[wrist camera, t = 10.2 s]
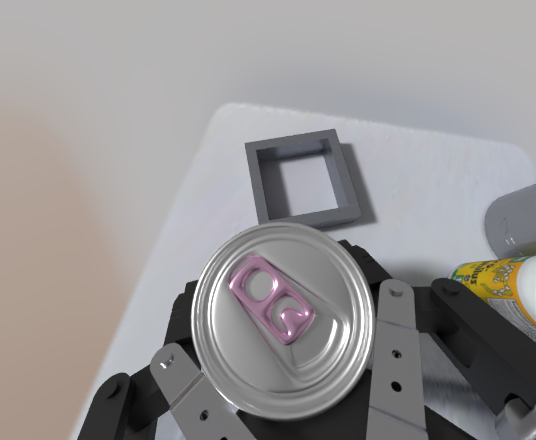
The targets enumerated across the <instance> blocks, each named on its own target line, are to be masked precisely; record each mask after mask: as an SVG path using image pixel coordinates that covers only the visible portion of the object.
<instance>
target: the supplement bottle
mask: <svg viewBox="0 0 536 440" xmlns="http://www.w3.org/2000/svg"><path fill="white" fill-rule="evenodd" d="M448 279H453V280H456V281H458V282H460V283H462V284H464V285H465V286H466V287H467V288H469V289H470V290H471V291H472V292H474V293H475V294H476V295H477V296H479V297H480V298H481V299H482V300H484V301H485V302H486V303H487V304H488V305H490V306H491V307H492V308H493V309H495V310H496V311H497V312H498V313H500V314H501V315H502V316H503V317H505V318H506V319H507V320H508V321H509V322H511V323H512V324H513V325H514V326H516V327H517V328H518V329H519V330H521V331H525V332H531V333H536V255H535V256H526V257H518V258H509V259H500V260H491V261H482V262H472V263H464V264H461V265H458V266H456V267H455V268H454V269H453V270H452V271H451V272H450V273H449V275H448Z"/></svg>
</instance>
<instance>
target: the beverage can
mask: <svg viewBox="0 0 536 440" xmlns="http://www.w3.org/2000/svg"><path fill="white" fill-rule="evenodd" d="M375 329H376V318H375V308H374V302H373V298H372V294H371V291H370V288H369V285H368V283H367V280H366V278H365V276H364V274H363V272H362V271H361V269H360V267H359V266H358V264H357V263H356V261H355V260H354V259H353V257H352V256H351V255H350V254H349V253H348V252H347V250H346V249H345V248H343V247H342V246H341V245H340V244H339V243H338V242H337V241H335V240H334V239H333V238H331V237H330V236H328V235H326V234H325V233H323V232H321V231H319V230H317V229H314V228H312V227H309V226H306V225H302V224H297V223H290V222H272V223H266V224H261V225H257V226H254V227H251V228H249V229H247V230H244V231H242V232H240V233H239V234H237V235H235V236H234V237H232V238H231V239H230V240H228V241H227V242H226V243H225V244H224V245H222V246H221V247H220V248H219V249H218V250H217V251H216V253H215V254H214V255H213V256H212V257H211V259H210V260H209V262H208V263H207V265H206V266H205V268H204V270H203V272H202V274H201V276H200V278H199V280H198V283H197V286H196V289H195V292H194V296H193V301H192V309H191V331H192V338H193V344H194V348H195V351H196V354H197V357H198V360H199V362H200V364H201V367H202V369H203V370H204V372H205V374H206V376H207V377H208V379H209V381H210V382H211V383H212V385H213V386H214V387H215V388H216V389H217V391H218V392H219V393H220V394H221V395H222V396H223V397H224V398H225V399H227V400H228V401H229V402H230V403H232V404H233V405H234V406H236V407H237V408H239V409H241V410H242V411H244V412H246V413H248V414H251V415H253V416H255V417H259V418H262V419H266V420H270V421H278V422H291V421H299V420H304V419H308V418H312V417H314V416H317V415H319V414H322V413H324V412H326V411H327V410H329V409H331V408H332V407H334V406H335V405H337V404H338V403H339V402H340V401H342V400H343V399H344V398H345V397H346V396H347V395H348V394H349V393H350V392H351V391H352V389H353V388H354V387H355V386H356V384H357V383H358V381H359V380H360V378H361V377H362V375H363V373H364V371H365V369H366V367H367V365H368V362H369V359H370V357H371V353H372V350H373V345H374V339H375Z"/></svg>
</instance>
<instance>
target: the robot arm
mask: <svg viewBox="0 0 536 440" xmlns="http://www.w3.org/2000/svg"><path fill="white" fill-rule="evenodd" d="M485 232H486V236H487V239H488V242H489V244H490V246H491V248H492V250H493V251H494V253H495V254H496V255H497V257H498V258H499V259H509V258H518V257H526V256H535V255H536V184H533V185H531V186H528V187H526V188H523V189H520V190H518V191H515V192H512V193H510V194H507V195H505V196H502V197H500V198H498V199H497V200H496V201H494V202H493V203H492V204H491V206H490V207H489V208H488V211H487V213H486V216H485ZM337 242H338V243H339V244H340V245H341V246H342V247H343V248H345V249H346V250H347V252H348V253H349V254H350V255H351V256H352V257H353V259H354V260H355V261H356V263H357V264H358V266H359V267H360V269H361V271H362V272H363V274H364V276H365V278H366V280H367V283H368V285H369V288H370V291H371V294H372V298H373V302H374V308H375V317H376V318H377V323H376V335H375V346H374V357H373V368H372V371H371V370H369V369H367V368H366V369H365V371H364V373H363V375H362V377H361V378H360V380H359V381H358V383H357V384H356V386H355V387H354V388H353V389H352V391H351V392H350V393H349V394H348V395H347V396H346V397H345V398H344V399H343V400H342V401H340V402H339V403H338V404H337V405H335V406H334V407H332V408H331V409H329V410H327V411H326V412H324V413H322V414H319V415H317V416H314V417H312V418H308V419H304V420H299V421H291V422H278V421H270V420H266V419H262V418H259V417H255V416H253V415H251V414H248V413H246V412H244V411H242V410H241V409H238V411H237V412H236V413H235V412H234V411H233V410H232V408H231V407H230V406H229V405H228V403H227V402H226V401H225V400H224V398H223V397H222V396H221V395H220V394H219V392H218V391H217V390H216V389H215V387H214V386H213V385H212V384H211V382H210V381H209V380H208V379H207V377H206V376H205V375H204V374H203V373H202V372H201V364H200V362H199V360H198V357H197V354H196V351H195V348H194V344H193V338H192V331H191V309H192V301H193V296H194V292H195V289H196V286H197V283H198V280H195V281H192V282H188V283H187V284H186V287H185V292H184V293H182V294H179V296H178V297H177V299H176V300H175V302H174V304H173V308H172V313H171V316H170V321H169V325H168V329H167V333H166V337H165V341H164V345H163V347H162V348H161V349H160V350H159V351H157V353H156V354H155V355H154V357H153V358H152V360H151V363H150V364H149V365H148V366H146V367H145V368H143V369H142V370H140V371H138V372H137V373H135V374H133V375H132V376H129V375H128V374H126V373H118V374H115V375H113V376H112V377H110V378H109V379H108V380H106V381H105V382H104V383H103V384H102V385H101V387H100V388H99V389H98V391H97V392H96V394H95V396H94V398H93V401H92V403H91V406H90V408H89V411H88V413H87V416H86V419H85V421H84V424H83V426H82V429H81V431H80V434H79V436H78V439H77V440H154V439H155V433H156V427H157V420H158V417H160V416H161V415H162V414H164V413H165V412H167V411H168V410H170V411H171V413H172V415H173V417H174V419H175V420H176V422H177V424H178V426H179V427H180V429H181V431H182V433H183V435H184V436H185V438H186V440H477V439H476V438H474V437H472V436H471V435H469V434H468V433H466V432H465V431H463V430H462V429H460V428H459V427H457V426H456V425H454V424H453V423H451V422H450V421H448V420H447V419H445V418H444V417H442V416H441V415H439V414H438V413H436V412H435V411H433V410H431V409H430V408H428V407H427V406H425V405H424V396H423V382H422V368H421V354H420V340H419V333H428V334H429V335H430V336H431V337H432V339H433V340H434V341H435V342H436V343H437V345H438V346H439V347H440V348H441V350H442V351H443V352H444V353H445V354H446V356H447V357H448V358H449V359H450V360H451V362H452V363H453V364H454V365H455V367H456V368H457V369H458V370H459V371H460V373H461V374H462V375H463V376H464V377H465V379H466V380H467V381H468V382H469V384H470V385H471V386H472V387H473V388H474V390H475V391H476V392H477V393H478V395H479V396H480V397H481V398H482V399H483V401H484V402H485V403H486V404H487V405H488V407H489V408H490V409H491V410H492V412H493V413H494V414H495V415H496V416H497V417H496V419H495V428H496V431H497V434H498V436H499V438H500V440H536V343H535V342H534V341H533V340H532V339H530V338H529V337H528V336H527V335H525V334H524V333H523V332H522V331H521V330H519V329H518V328H517V327H516V326H514V325H513V324H512V323H511V322H509V321H508V320H507V319H506V318H505V317H503V316H502V315H501V314H500V313H498V312H497V311H496V310H495V309H493V308H492V307H491V306H490V305H488V304H487V303H486V302H485V301H484V300H482V299H481V298H480V297H479V296H477V295H476V294H475V293H474V292H472V291H471V290H470V289H469V288H467V287H466V286H465V285H464V284H462V283H460V282H458V281H456V280H453V279H448V278H439V279H436V280H434V281H433V282H432V285H431V287H411V286H409V285H408V284H407V283H405V282H403V281H401V280H397V279H393V278H392V277H391V276H390V275H389V274H388V273H387V272H386V271H385V270H384V269H383V268H382V267H381V266H380V265H379V264H378V263H377V262H376V261H375V260H374V259H373V258H372V256H370V254H369V253H368V252H367V251H366V250H365V249H363V248H361V247H359V246H357V245H355V246H351V245H350V244H349V243H348V241H347V240H345V239H344V240H341V241H337Z"/></svg>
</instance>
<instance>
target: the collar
mask: <svg viewBox="0 0 536 440" xmlns="http://www.w3.org/2000/svg"><path fill="white" fill-rule="evenodd" d="M245 149H246V154H247V160H248V166H249V171H250V177H251V183H252V188H253V194H254V200H255V205H256V211H257V217H258V222H259V225H261V224H266V223H272V222H290V223H297V224H302V225H306V226H309V227H312V228H314V229H315V228H320V227H326V226H331V225H337V224H343V223H348V222H353V221H354V220H355V219H357V218H358V217H359V216H361V215H362V213H361V209H360V206H359V203H358V200H357V197H356V194H355V190H354V187H353V184H352V181H351V178H350V175H349V171H348V168H347V165H346V162H345V159H344V156H343V152H342V149H341V146H340V143H339V140H338V137H337V133H336V130H335V129H330V130H324V131H317V132H311V133H305V134H299V135H293V136H286V137H280V138H274V139H268V140H262V141H255V142H249V143H245ZM320 152H323V155H324V159H325V162H326V166H327V169H328V173H329V176H330V180H331V183H332V187H333V190H334V193H335V197H336V200H337V204H338V207H339V208H336V209H331V210H325V211H319V212H314V213H308V214H302V215H297V216H291V217H286V218H280V219H274V220H269V217H268V212H267V207H266V201H265V196H264V191H263V186H262V180H261V175H260V170H259V165H258V163H260V162H266V161H272V160H278V159H284V158H290V157H296V156H302V155H308V154H314V153H320Z"/></svg>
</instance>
